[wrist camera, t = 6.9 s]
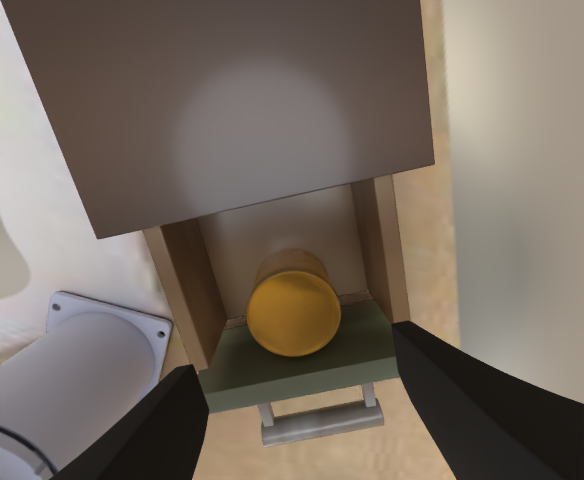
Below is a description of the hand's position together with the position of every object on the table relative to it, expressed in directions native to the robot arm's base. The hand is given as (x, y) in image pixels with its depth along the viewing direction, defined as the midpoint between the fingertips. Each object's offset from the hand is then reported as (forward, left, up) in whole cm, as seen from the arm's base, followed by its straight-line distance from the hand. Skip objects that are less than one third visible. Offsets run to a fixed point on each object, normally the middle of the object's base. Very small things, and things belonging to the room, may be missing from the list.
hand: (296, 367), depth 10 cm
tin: (0, 0, -7) cm, 7 cm away
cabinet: (+11, +6, -9) cm, 16 cm away
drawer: (0, 0, -8) cm, 8 cm away
